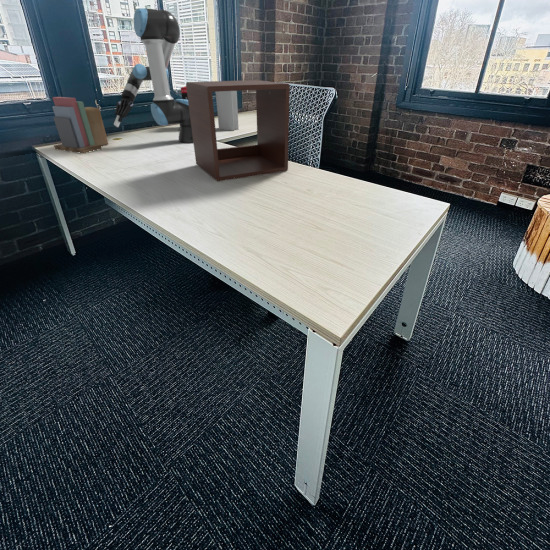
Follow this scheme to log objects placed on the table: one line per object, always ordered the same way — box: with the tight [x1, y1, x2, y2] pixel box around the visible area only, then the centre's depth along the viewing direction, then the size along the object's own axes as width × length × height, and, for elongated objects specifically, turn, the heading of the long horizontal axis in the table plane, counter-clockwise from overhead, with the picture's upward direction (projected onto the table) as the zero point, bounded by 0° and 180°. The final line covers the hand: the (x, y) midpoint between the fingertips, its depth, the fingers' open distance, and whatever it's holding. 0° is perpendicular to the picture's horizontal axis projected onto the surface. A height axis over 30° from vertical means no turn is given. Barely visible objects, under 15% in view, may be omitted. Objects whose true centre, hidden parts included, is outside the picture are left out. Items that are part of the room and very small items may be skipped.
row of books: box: [52, 96, 95, 148], centre depth 183 cm, size 15×10×24 cm
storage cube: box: [185, 79, 291, 182], centre depth 148 cm, size 35×29×35 cm
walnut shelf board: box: [53, 143, 102, 154], centre depth 189 cm, size 24×12×2 cm, turn 64°
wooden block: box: [84, 106, 109, 147], centre depth 193 cm, size 10×10×20 cm
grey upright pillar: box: [215, 91, 240, 132], centre depth 234 cm, size 14×6×30 cm, turn 58°
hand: (115, 125), depth 208 cm, fingers closed
